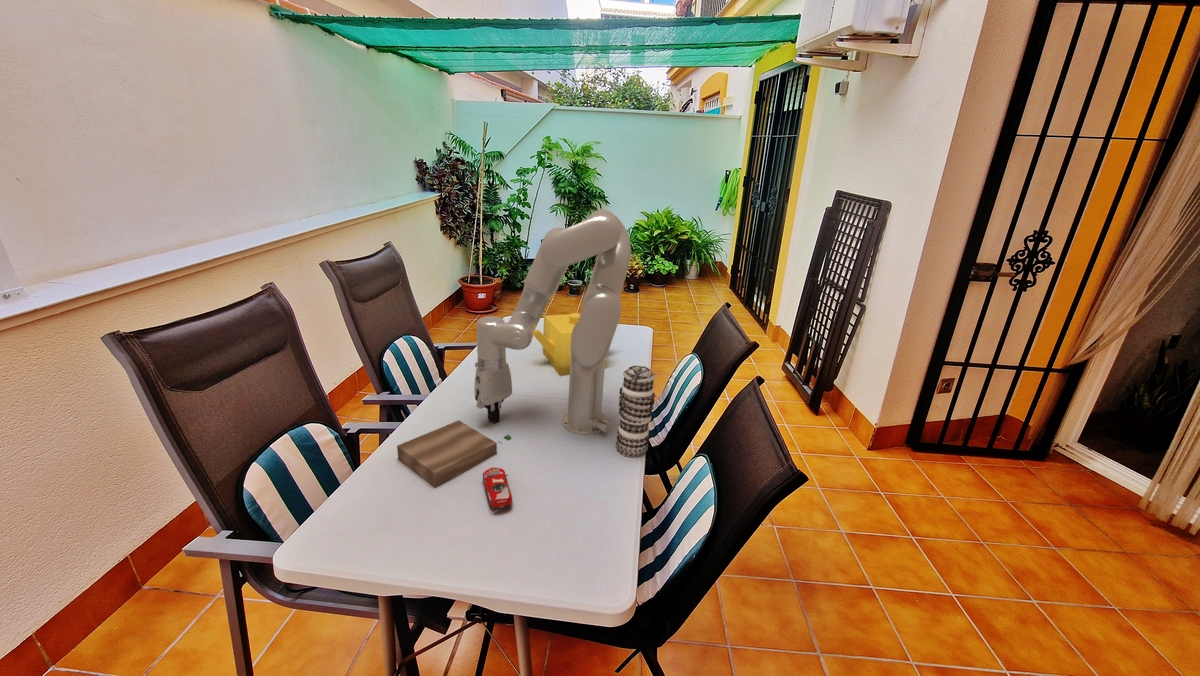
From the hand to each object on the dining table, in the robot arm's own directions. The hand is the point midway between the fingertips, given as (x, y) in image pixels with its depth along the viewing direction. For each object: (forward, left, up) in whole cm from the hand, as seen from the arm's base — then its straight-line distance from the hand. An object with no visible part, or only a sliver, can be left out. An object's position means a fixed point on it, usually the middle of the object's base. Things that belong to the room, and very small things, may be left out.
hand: (493, 420), depth 140 cm
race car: (-21, +18, -3) cm, 28 cm away
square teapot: (+11, -45, -2) cm, 46 cm away
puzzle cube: (-9, +4, -2) cm, 11 cm away
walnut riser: (-5, +18, -2) cm, 19 cm away
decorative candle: (-37, -16, -2) cm, 40 cm away
